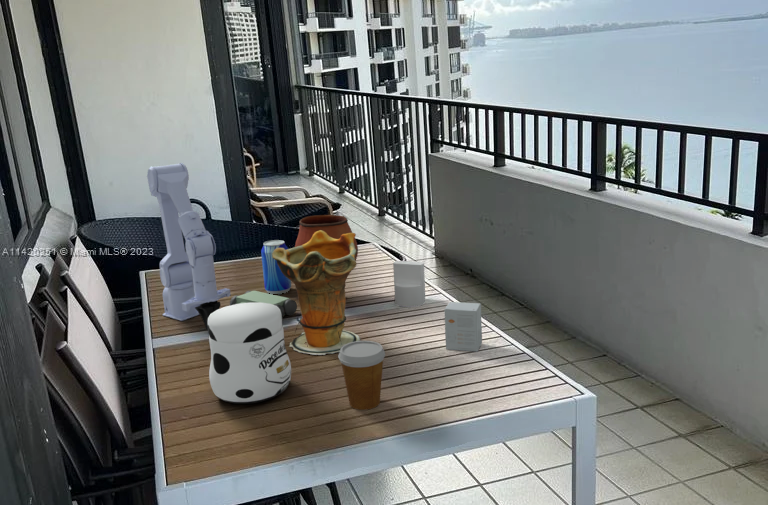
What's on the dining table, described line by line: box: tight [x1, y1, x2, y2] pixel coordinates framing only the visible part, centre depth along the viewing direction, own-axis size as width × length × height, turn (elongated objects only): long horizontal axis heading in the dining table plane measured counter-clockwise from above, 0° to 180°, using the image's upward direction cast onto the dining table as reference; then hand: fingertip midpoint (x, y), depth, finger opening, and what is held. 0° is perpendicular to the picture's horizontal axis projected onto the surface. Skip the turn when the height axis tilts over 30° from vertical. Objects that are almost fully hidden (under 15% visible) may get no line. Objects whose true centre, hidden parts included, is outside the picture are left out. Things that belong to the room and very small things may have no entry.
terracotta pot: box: [294, 214, 359, 262], centre depth 205 cm, size 19×19×25 cm
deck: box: [229, 290, 298, 319], centre depth 197 cm, size 18×14×4 cm
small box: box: [443, 301, 483, 353], centre depth 166 cm, size 8×6×10 cm
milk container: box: [207, 302, 292, 405], centre depth 146 cm, size 17×17×18 cm
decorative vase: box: [272, 230, 361, 356], centre depth 171 cm, size 21×23×28 cm
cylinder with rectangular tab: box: [392, 260, 426, 308], centre depth 200 cm, size 9×9×12 cm
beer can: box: [260, 239, 292, 295], centre depth 216 cm, size 8×8×16 cm
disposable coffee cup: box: [337, 340, 386, 411], centre depth 140 cm, size 10×10×12 cm
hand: (210, 328), depth 184 cm, fingers closed
